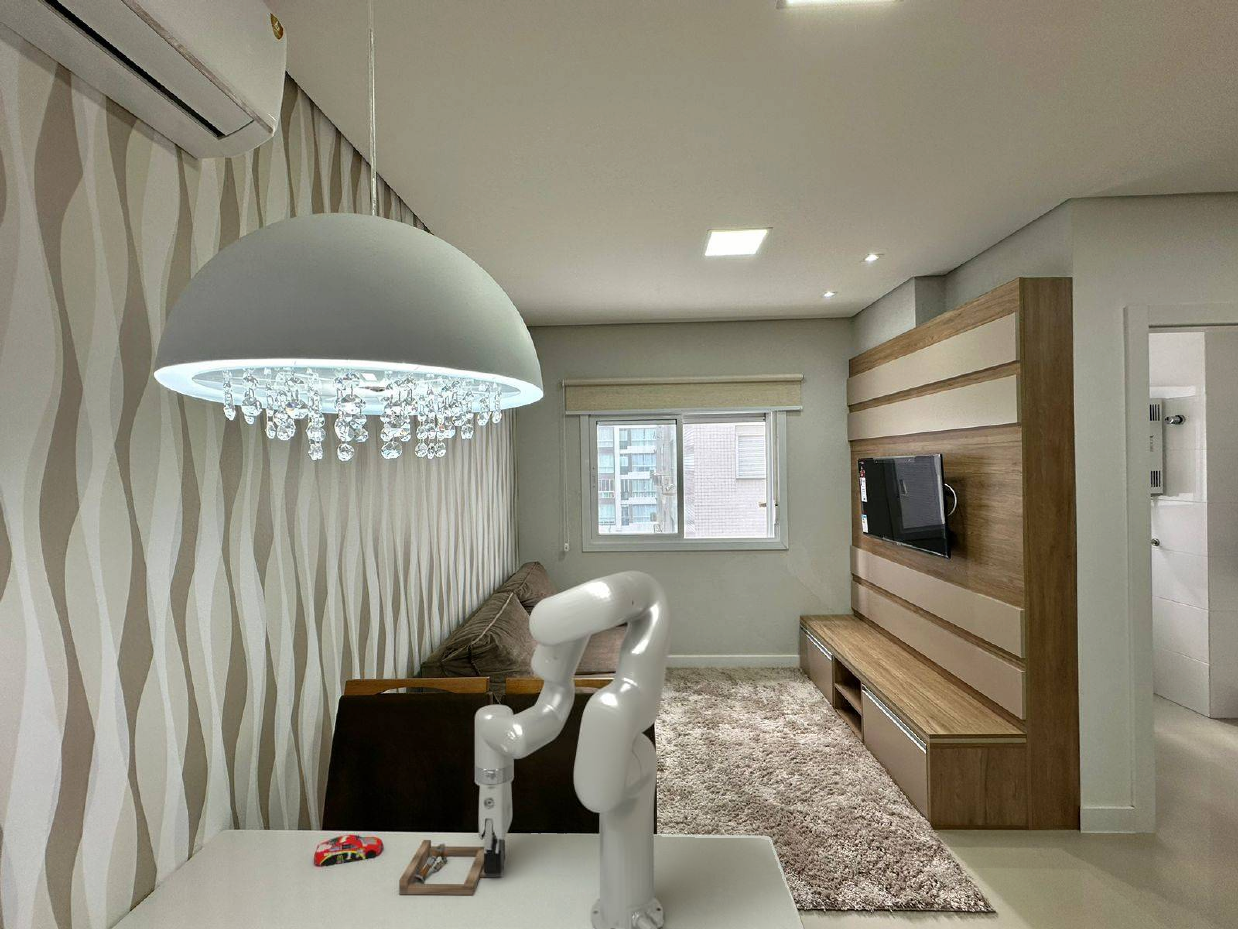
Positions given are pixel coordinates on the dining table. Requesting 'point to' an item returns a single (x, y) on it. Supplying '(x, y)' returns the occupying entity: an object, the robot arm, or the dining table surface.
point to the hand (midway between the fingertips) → (494, 866)
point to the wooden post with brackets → (431, 862)
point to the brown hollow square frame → (446, 889)
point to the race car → (347, 849)
